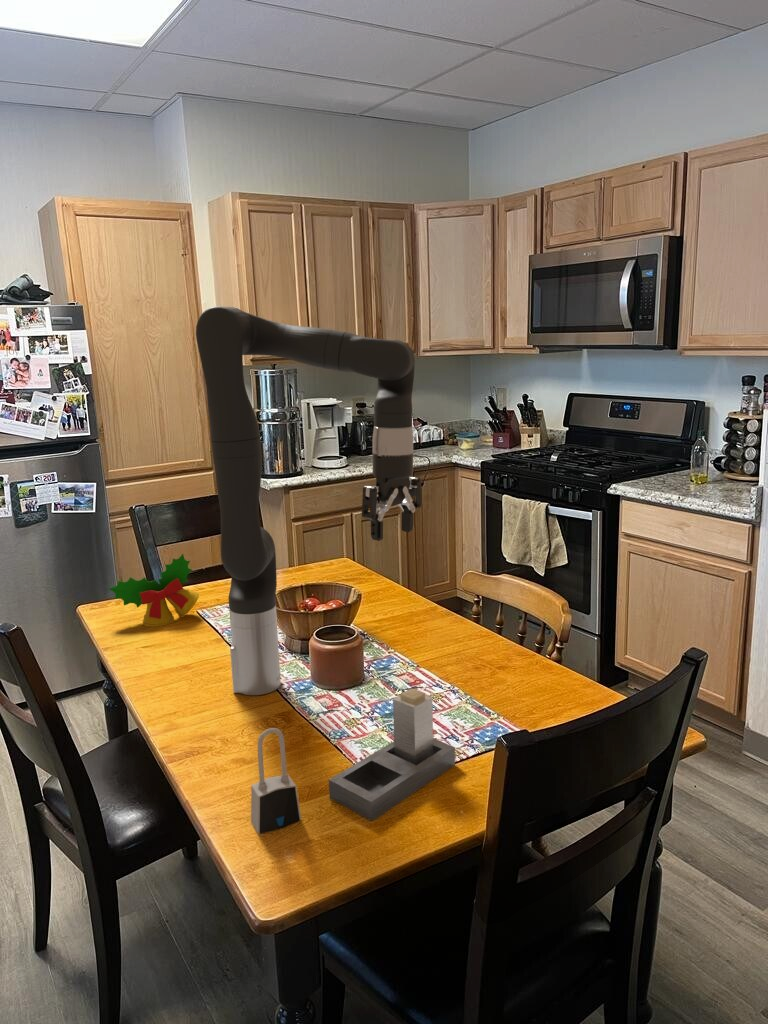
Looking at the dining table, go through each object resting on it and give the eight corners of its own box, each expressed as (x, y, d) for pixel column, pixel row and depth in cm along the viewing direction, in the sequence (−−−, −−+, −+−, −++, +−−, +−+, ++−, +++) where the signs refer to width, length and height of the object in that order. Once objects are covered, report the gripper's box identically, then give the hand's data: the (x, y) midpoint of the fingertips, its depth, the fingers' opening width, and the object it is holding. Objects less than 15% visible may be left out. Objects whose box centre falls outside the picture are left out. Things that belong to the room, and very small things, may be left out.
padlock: (258, 835, 112) (252, 741, 109) (250, 820, 116) (243, 728, 112) (302, 821, 115) (297, 729, 112) (292, 807, 119) (287, 717, 115)
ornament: (135, 646, 195) (109, 602, 186) (130, 627, 201) (106, 584, 193) (212, 611, 199) (191, 567, 190) (206, 593, 206) (185, 550, 197)
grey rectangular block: (415, 776, 125) (414, 702, 122) (394, 766, 128) (392, 694, 125) (433, 764, 128) (432, 692, 125) (412, 755, 131) (411, 685, 128)
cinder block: (371, 821, 115) (371, 801, 114) (329, 798, 120) (328, 779, 120) (455, 764, 129) (454, 747, 128) (413, 746, 135) (413, 729, 134)
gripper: (402, 444, 152) (401, 525, 155) (351, 452, 141) (351, 539, 145) (432, 448, 147) (431, 532, 150) (382, 457, 136) (381, 546, 140)
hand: (392, 535), depth 148 cm, fingers open, 8 cm apart
